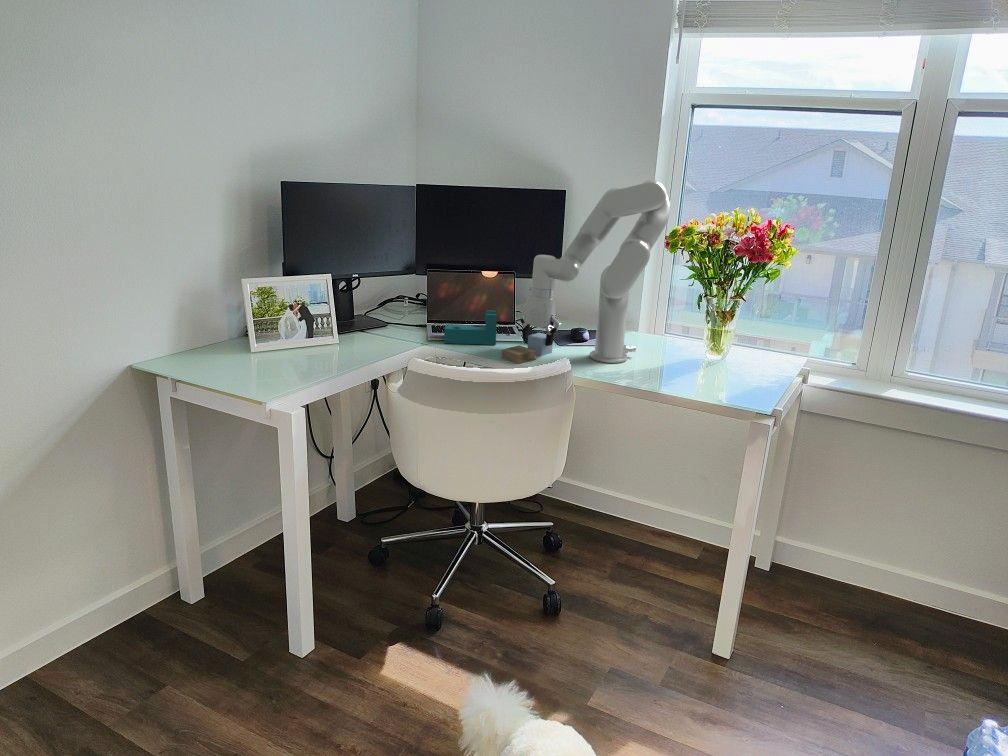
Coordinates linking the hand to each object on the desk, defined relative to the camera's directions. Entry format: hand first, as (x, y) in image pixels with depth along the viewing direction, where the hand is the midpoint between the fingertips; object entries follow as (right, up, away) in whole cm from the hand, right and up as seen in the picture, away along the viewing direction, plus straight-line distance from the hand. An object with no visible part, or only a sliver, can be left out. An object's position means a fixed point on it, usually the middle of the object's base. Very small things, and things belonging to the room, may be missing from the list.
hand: (537, 341), depth 249 cm
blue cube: (+1, -4, +1) cm, 4 cm away
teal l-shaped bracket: (-24, +1, +12) cm, 26 cm away
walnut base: (-7, -6, -7) cm, 11 cm away
